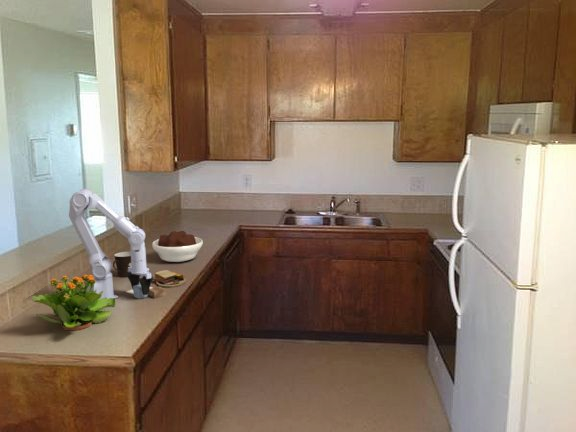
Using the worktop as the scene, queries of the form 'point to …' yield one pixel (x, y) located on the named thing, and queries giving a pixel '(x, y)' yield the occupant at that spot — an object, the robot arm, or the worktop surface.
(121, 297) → the worktop surface
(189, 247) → the bowl of brownies
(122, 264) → the coffee mug
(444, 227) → the worktop surface
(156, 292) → the walnut block
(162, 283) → the toy sandwich meal
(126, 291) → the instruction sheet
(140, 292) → the blue block
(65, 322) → the potted flower
